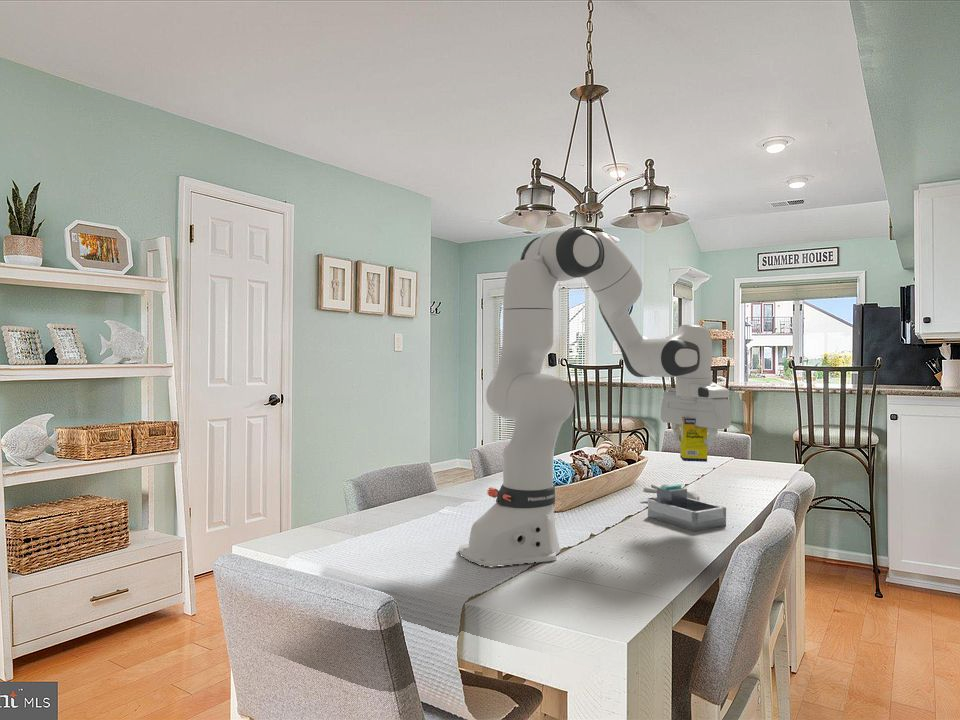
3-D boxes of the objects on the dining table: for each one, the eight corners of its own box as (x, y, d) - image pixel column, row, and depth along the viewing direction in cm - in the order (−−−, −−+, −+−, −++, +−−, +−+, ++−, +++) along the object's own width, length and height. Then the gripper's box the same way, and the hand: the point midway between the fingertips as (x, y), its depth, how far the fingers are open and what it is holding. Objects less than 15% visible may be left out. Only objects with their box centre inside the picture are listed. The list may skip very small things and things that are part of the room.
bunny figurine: (692, 494, 182) (642, 481, 191) (690, 512, 182) (639, 498, 191) (704, 489, 189) (654, 476, 198) (701, 506, 190) (652, 493, 199)
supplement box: (707, 462, 163) (708, 418, 163) (682, 461, 164) (683, 417, 164) (704, 458, 169) (704, 415, 169) (680, 457, 170) (680, 415, 170)
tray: (695, 531, 159) (695, 497, 159) (647, 516, 173) (648, 485, 173) (725, 525, 165) (726, 492, 165) (677, 511, 179) (678, 481, 179)
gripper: (655, 387, 174) (654, 439, 174) (717, 391, 156) (717, 449, 156) (672, 386, 177) (672, 437, 177) (735, 390, 159) (735, 447, 159)
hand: (693, 443), depth 167 cm, fingers closed on supplement box, 8 cm apart
